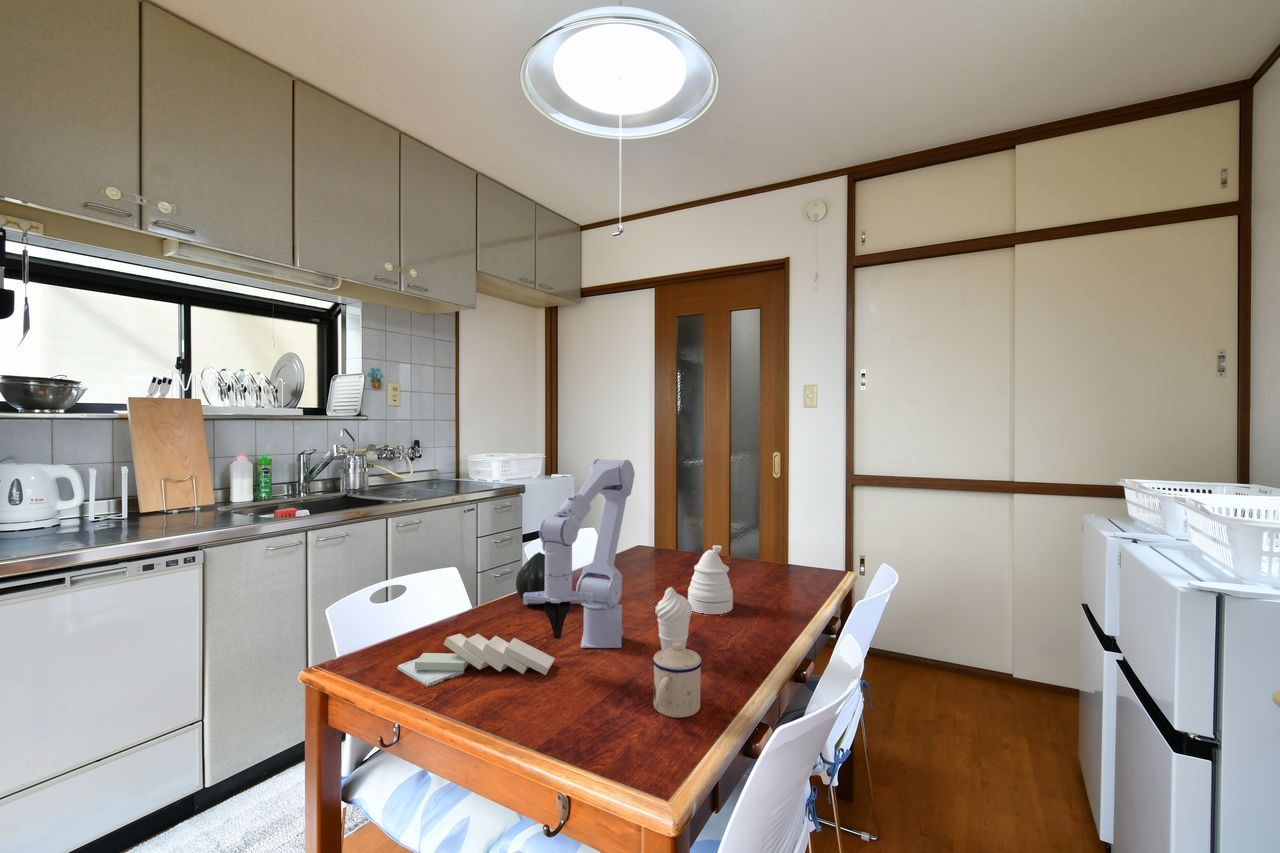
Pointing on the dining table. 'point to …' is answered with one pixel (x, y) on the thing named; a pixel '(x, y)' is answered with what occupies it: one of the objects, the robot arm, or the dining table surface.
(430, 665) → the domino
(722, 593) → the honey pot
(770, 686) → the dining table surface
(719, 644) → the dining table surface
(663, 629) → the soft serve ice cream cone
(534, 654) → the domino
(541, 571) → the squash
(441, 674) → the hard drive
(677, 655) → the teacup with lid
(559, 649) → the dining table surface
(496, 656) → the domino
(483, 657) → the domino
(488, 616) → the dining table surface
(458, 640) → the domino
